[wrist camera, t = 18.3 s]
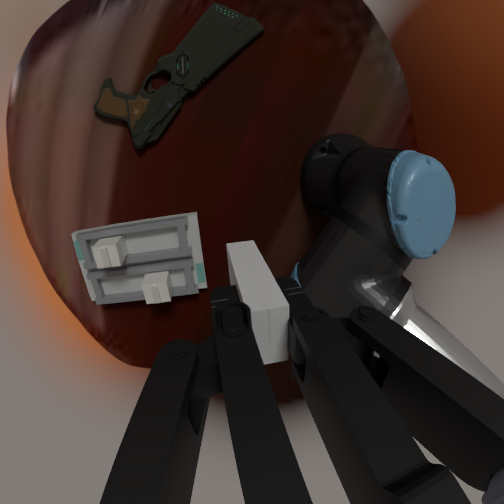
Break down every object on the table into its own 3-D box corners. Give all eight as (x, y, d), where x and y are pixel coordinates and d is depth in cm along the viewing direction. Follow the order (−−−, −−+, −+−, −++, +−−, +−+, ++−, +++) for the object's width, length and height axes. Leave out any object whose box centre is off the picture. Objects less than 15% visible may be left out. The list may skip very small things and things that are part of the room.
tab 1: (123, 233, 41) (114, 245, 36) (128, 252, 42) (120, 267, 37) (101, 236, 40) (90, 249, 35) (106, 255, 41) (96, 270, 36)
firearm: (195, -18, 26) (268, 25, 32) (195, -12, 28) (265, 30, 34) (80, 113, 32) (153, 160, 37) (85, 114, 34) (155, 159, 39)
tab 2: (169, 267, 44) (166, 284, 39) (172, 285, 46) (170, 303, 41) (146, 270, 44) (140, 287, 39) (150, 288, 45) (146, 306, 40)
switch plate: (196, 211, 43) (196, 216, 41) (206, 283, 49) (207, 291, 46) (74, 231, 40) (68, 237, 37) (94, 296, 45) (89, 305, 43)
